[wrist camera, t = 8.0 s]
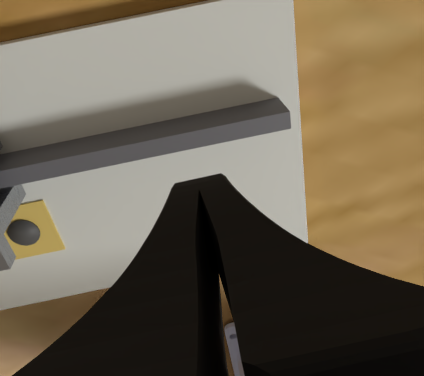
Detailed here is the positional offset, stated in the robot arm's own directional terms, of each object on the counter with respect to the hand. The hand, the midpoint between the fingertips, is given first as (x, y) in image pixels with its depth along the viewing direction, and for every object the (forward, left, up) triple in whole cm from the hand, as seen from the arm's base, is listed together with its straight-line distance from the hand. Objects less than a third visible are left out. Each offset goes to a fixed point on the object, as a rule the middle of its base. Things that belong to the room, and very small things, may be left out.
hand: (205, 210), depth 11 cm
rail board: (-3, +6, -10) cm, 12 cm away
